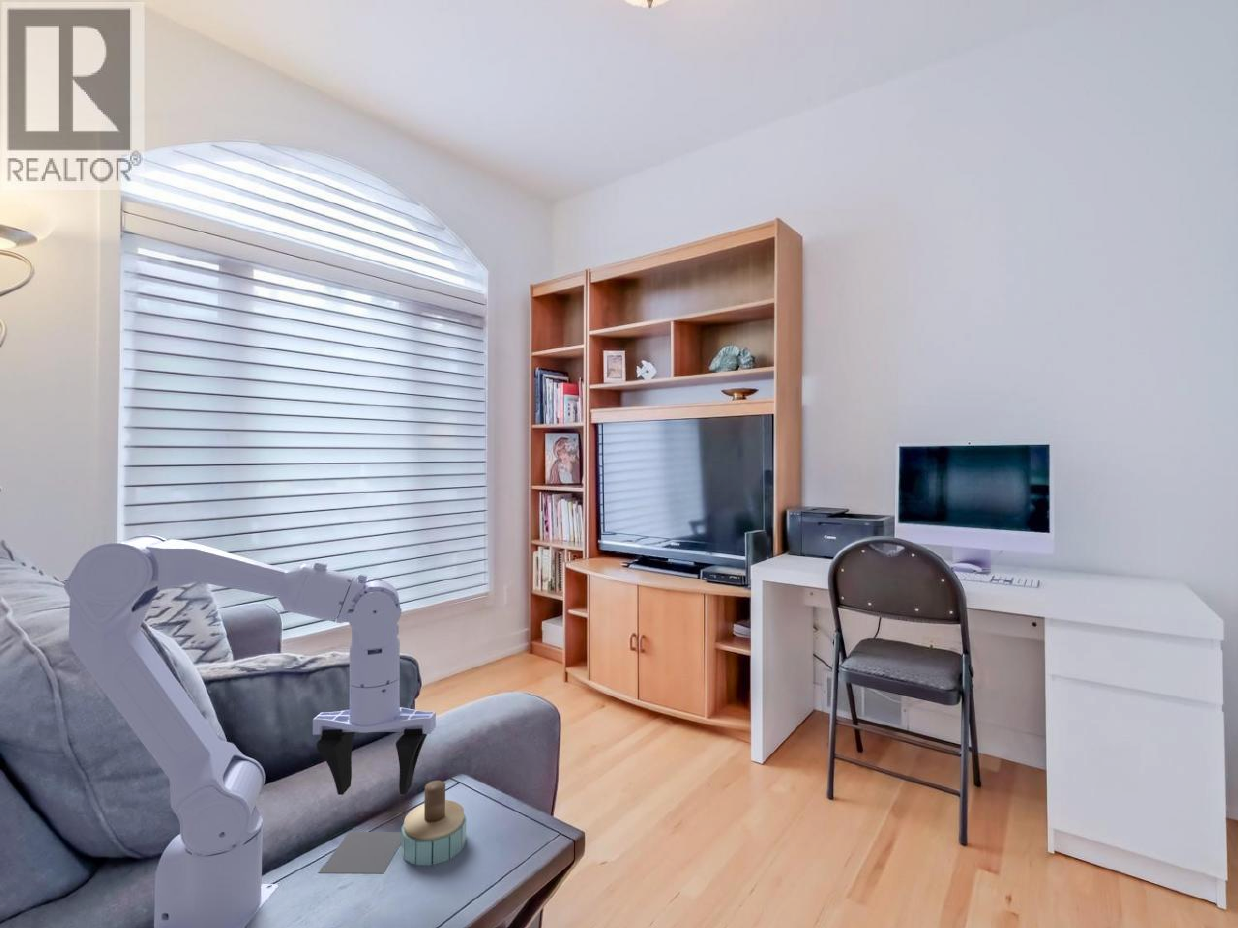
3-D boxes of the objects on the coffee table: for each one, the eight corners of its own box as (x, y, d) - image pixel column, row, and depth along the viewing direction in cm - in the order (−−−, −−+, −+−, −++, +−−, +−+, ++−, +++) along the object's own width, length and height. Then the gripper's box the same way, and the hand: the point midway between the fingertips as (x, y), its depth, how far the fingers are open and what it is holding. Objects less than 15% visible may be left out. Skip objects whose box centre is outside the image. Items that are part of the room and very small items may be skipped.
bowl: (392, 867, 71) (392, 841, 71) (415, 828, 79) (415, 805, 79) (455, 868, 71) (455, 842, 71) (472, 828, 79) (472, 805, 79)
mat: (318, 875, 70) (318, 872, 70) (349, 834, 78) (349, 831, 78) (383, 875, 70) (383, 872, 70) (407, 835, 78) (407, 832, 78)
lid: (394, 839, 72) (394, 801, 72) (417, 805, 79) (417, 770, 79) (453, 841, 72) (454, 802, 72) (471, 806, 79) (471, 771, 79)
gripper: (443, 668, 74) (443, 772, 74) (333, 668, 74) (333, 773, 74) (424, 688, 67) (425, 803, 67) (303, 689, 67) (302, 804, 67)
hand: (375, 789), depth 70 cm, fingers open, 7 cm apart
